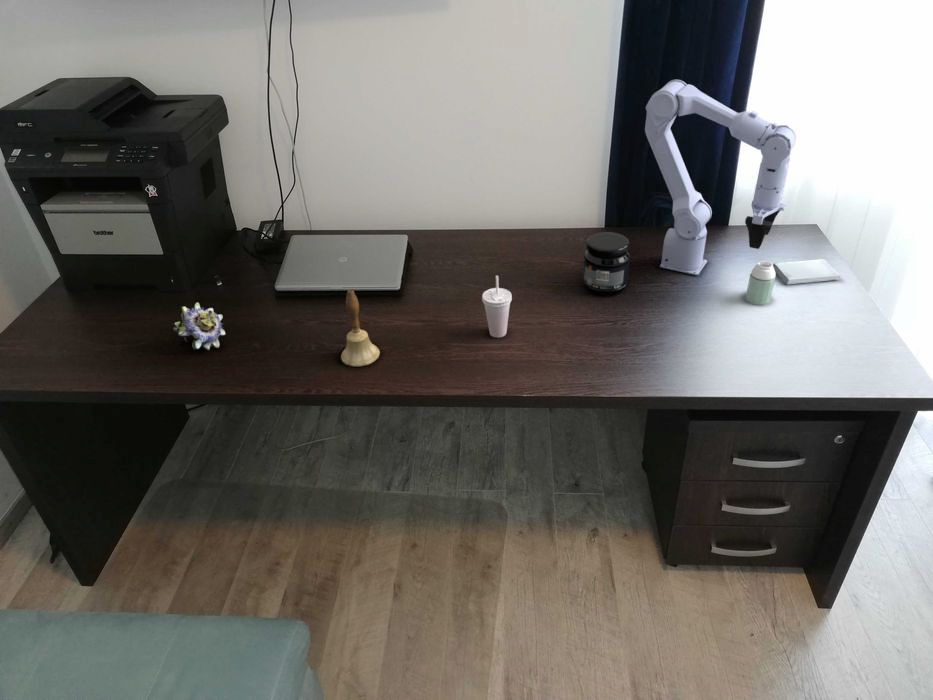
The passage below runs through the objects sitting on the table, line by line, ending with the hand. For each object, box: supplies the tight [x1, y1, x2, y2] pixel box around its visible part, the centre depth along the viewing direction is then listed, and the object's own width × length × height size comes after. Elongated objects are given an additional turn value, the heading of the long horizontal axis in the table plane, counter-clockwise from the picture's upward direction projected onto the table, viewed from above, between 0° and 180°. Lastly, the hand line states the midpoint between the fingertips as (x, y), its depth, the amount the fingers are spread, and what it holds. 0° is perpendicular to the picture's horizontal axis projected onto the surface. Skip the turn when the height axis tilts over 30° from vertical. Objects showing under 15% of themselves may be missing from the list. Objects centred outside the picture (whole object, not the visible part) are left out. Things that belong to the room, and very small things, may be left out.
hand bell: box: [340, 289, 381, 368], centre depth 149 cm, size 8×8×16 cm
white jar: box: [750, 260, 777, 280], centre depth 159 cm, size 5×3×5 cm
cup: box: [745, 273, 776, 306], centre depth 161 cm, size 5×5×6 cm
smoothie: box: [481, 275, 513, 338], centre depth 154 cm, size 6×6×14 cm
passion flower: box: [171, 302, 226, 351], centre depth 159 cm, size 11×11×12 cm
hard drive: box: [772, 258, 841, 285], centre depth 170 cm, size 2×8×12 cm
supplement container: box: [582, 231, 631, 296], centre depth 168 cm, size 10×10×12 cm
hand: (758, 240), depth 164 cm, fingers open, 7 cm apart
